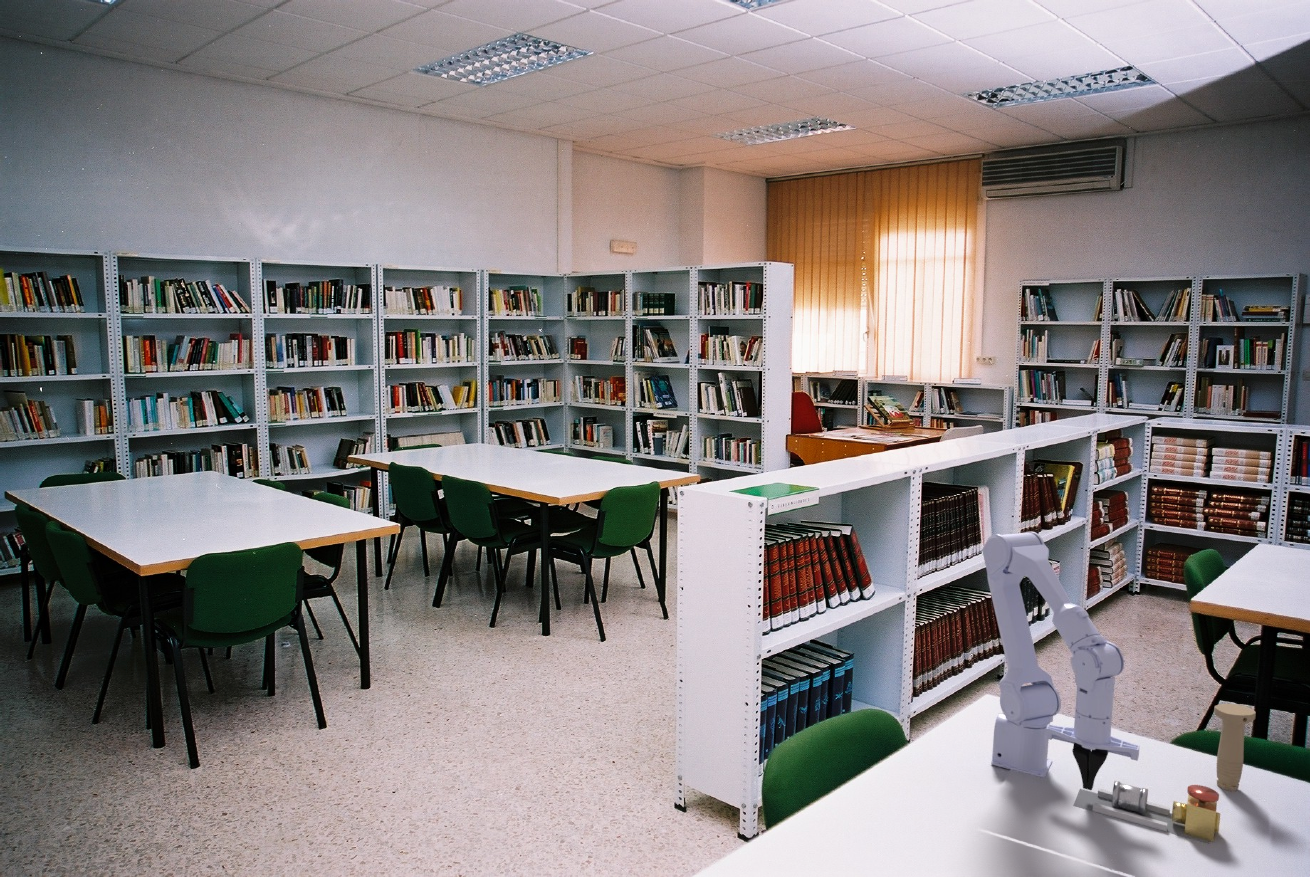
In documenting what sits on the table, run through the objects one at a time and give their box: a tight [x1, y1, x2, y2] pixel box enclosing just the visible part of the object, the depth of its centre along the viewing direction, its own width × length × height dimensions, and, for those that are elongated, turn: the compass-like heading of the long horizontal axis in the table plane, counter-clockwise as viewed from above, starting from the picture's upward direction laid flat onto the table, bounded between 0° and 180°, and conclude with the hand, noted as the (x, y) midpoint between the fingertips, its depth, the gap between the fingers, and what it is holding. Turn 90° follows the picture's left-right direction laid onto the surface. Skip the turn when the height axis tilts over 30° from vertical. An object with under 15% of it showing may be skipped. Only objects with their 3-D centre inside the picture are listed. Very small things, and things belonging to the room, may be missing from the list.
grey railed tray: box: [1073, 788, 1211, 845], centre depth 151 cm, size 20×7×1 cm, turn 56°
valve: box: [1171, 784, 1221, 843], centre depth 146 cm, size 7×5×7 cm
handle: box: [1213, 703, 1256, 792], centre depth 160 cm, size 5×6×15 cm
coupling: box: [1112, 780, 1149, 815], centre depth 152 cm, size 5×4×4 cm
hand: (1088, 787), depth 155 cm, fingers closed
